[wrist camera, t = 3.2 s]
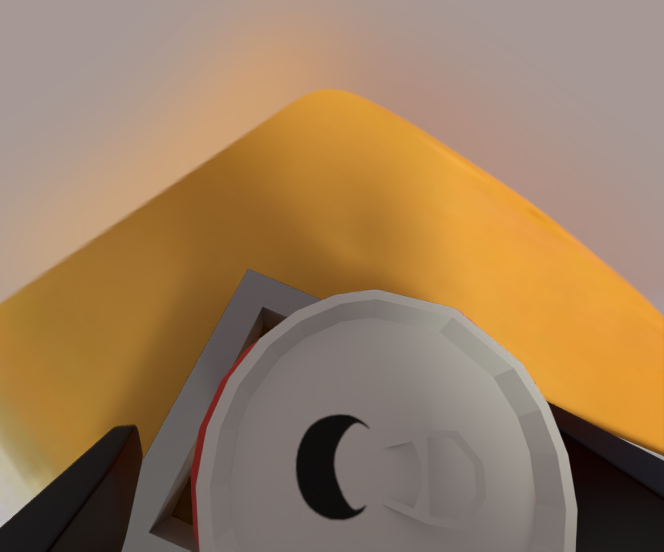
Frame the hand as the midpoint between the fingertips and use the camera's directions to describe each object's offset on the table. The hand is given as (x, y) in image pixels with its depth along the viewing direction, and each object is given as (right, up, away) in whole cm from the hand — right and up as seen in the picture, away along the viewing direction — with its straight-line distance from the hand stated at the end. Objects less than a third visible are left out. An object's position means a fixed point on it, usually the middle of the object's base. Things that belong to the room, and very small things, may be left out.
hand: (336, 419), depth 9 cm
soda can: (-1, -4, +6) cm, 8 cm away
